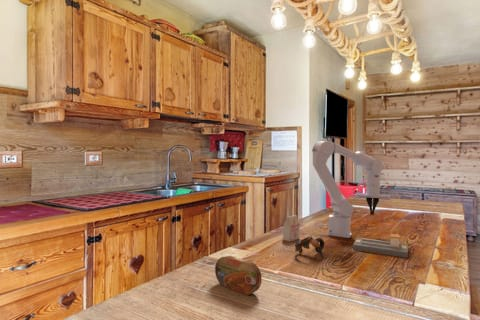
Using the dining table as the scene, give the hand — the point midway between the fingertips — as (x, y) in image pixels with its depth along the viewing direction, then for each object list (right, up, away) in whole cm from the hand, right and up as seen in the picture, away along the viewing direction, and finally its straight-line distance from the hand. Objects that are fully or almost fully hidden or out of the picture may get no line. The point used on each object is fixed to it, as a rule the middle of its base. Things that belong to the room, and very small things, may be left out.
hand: (372, 214), depth 150 cm
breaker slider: (-1, -8, -24) cm, 25 cm away
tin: (-61, -11, -60) cm, 86 cm away
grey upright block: (-39, -9, -10) cm, 41 cm away
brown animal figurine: (-35, -10, -31) cm, 48 cm away
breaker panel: (-5, -10, -22) cm, 24 cm away
